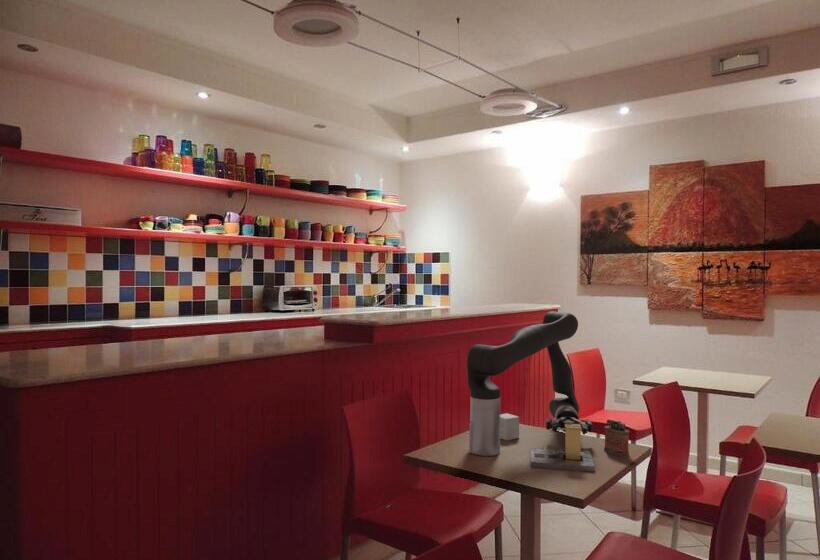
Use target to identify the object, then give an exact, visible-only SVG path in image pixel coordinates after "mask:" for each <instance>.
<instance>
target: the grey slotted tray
mask: <svg viewBox="0 0 820 560" xmlns="http://www.w3.org/2000/svg"><path fill="white" fill-rule="evenodd" d="M564 459H565V450H559V449H558V450H555V449H545V448H543V449H540V448H531V449H530V468H538V469H550V470H551V469H553V470H564V471H578V472H579V471H580V472H581V471H582V472H593V473H595V472H596V466H595V462H594V460H593V457H592V454H591V452H588V451H581V453H580V460H581V461H569V460H564Z"/></svg>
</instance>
